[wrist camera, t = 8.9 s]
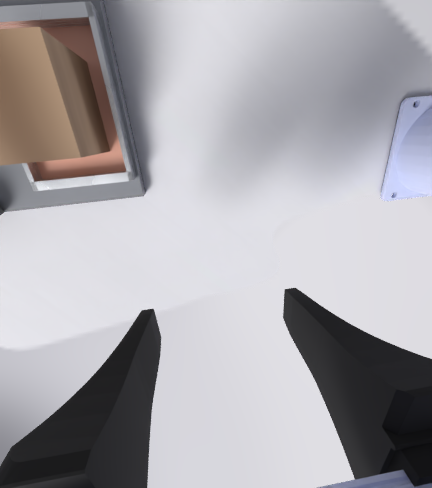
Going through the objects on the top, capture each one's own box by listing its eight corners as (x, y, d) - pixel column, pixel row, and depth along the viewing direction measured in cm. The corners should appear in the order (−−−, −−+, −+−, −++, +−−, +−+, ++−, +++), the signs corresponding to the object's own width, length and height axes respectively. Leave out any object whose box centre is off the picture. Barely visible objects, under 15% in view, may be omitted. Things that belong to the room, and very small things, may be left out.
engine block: (86, 61, 14) (39, 26, 9) (110, 151, 16) (81, 157, 12) (16, 66, 14) (-67, 33, 9) (50, 157, 16) (-4, 165, 11)
